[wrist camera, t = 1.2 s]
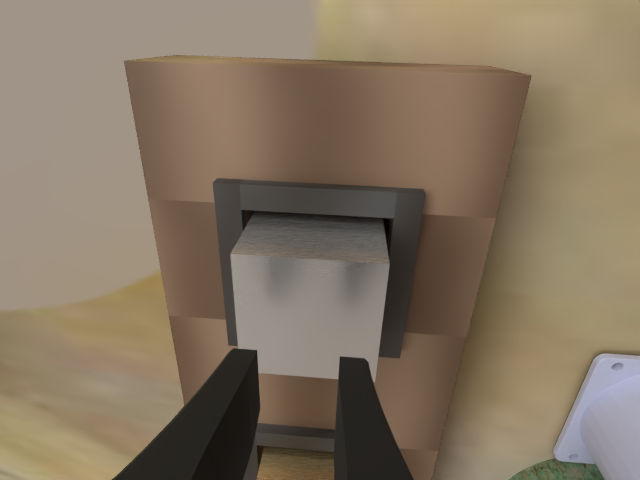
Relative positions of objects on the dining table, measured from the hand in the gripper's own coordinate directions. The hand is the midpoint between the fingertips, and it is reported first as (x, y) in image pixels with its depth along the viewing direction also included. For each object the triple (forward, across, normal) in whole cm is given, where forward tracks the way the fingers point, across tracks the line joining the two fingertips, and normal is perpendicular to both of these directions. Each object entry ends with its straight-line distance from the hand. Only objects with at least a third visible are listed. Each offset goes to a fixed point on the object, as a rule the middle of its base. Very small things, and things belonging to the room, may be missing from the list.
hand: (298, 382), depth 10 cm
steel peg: (+7, 0, 0) cm, 7 cm away
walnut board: (+9, 0, +6) cm, 11 cm away
